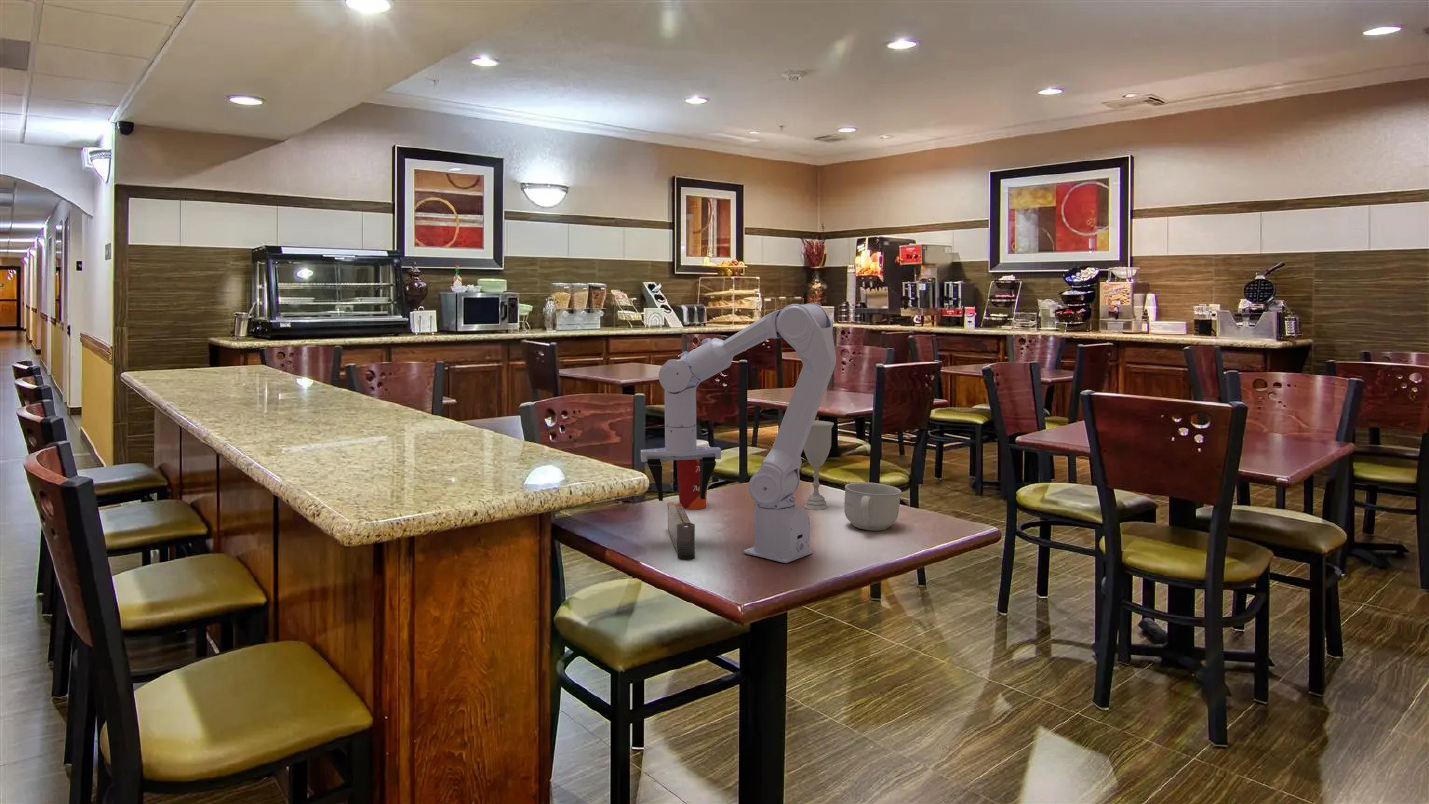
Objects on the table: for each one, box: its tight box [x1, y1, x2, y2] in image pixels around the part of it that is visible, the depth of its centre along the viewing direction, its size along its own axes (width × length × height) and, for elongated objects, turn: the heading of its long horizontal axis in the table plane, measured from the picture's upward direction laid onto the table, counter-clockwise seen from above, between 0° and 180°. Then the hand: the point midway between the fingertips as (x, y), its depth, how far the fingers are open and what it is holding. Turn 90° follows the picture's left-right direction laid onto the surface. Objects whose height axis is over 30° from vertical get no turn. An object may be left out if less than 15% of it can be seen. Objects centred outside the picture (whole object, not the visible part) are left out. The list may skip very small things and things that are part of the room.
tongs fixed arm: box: [674, 503, 696, 561], centre depth 166 cm, size 20×3×6 cm, turn 9°
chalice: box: [803, 420, 835, 511], centre depth 192 cm, size 7×7×18 cm
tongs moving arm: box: [667, 501, 683, 554], centre depth 167 cm, size 17×1×5 cm, turn 8°
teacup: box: [843, 481, 902, 532], centre depth 175 cm, size 14×11×8 cm
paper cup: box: [676, 439, 711, 511], centre depth 193 cm, size 8×8×14 cm
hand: (681, 498), depth 166 cm, fingers open, 7 cm apart
